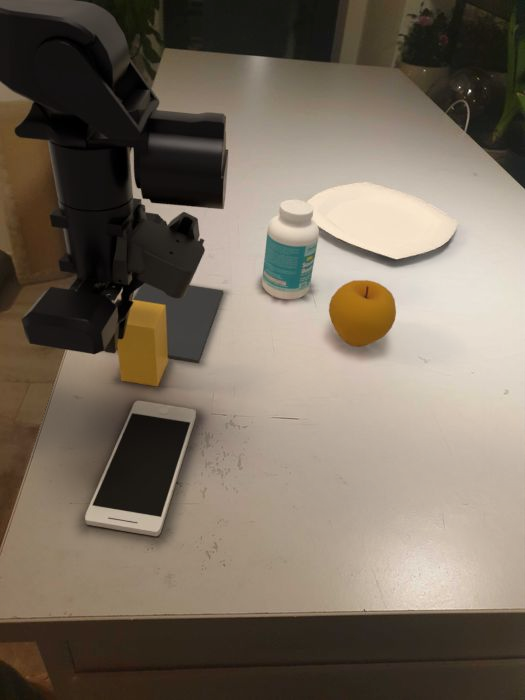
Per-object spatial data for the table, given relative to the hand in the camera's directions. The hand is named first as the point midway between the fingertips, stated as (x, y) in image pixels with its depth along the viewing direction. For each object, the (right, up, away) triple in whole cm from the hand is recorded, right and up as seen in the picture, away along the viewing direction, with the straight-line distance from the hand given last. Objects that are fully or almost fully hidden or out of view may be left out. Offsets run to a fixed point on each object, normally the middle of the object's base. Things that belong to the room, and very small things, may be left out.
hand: (114, 344), depth 52 cm
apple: (+28, +1, +22) cm, 35 cm away
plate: (+36, +23, +49) cm, 65 cm away
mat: (+2, +4, +21) cm, 22 cm away
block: (0, -3, +13) cm, 14 cm away
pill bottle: (+18, +9, +30) cm, 36 cm away
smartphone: (+2, -12, +3) cm, 13 cm away
